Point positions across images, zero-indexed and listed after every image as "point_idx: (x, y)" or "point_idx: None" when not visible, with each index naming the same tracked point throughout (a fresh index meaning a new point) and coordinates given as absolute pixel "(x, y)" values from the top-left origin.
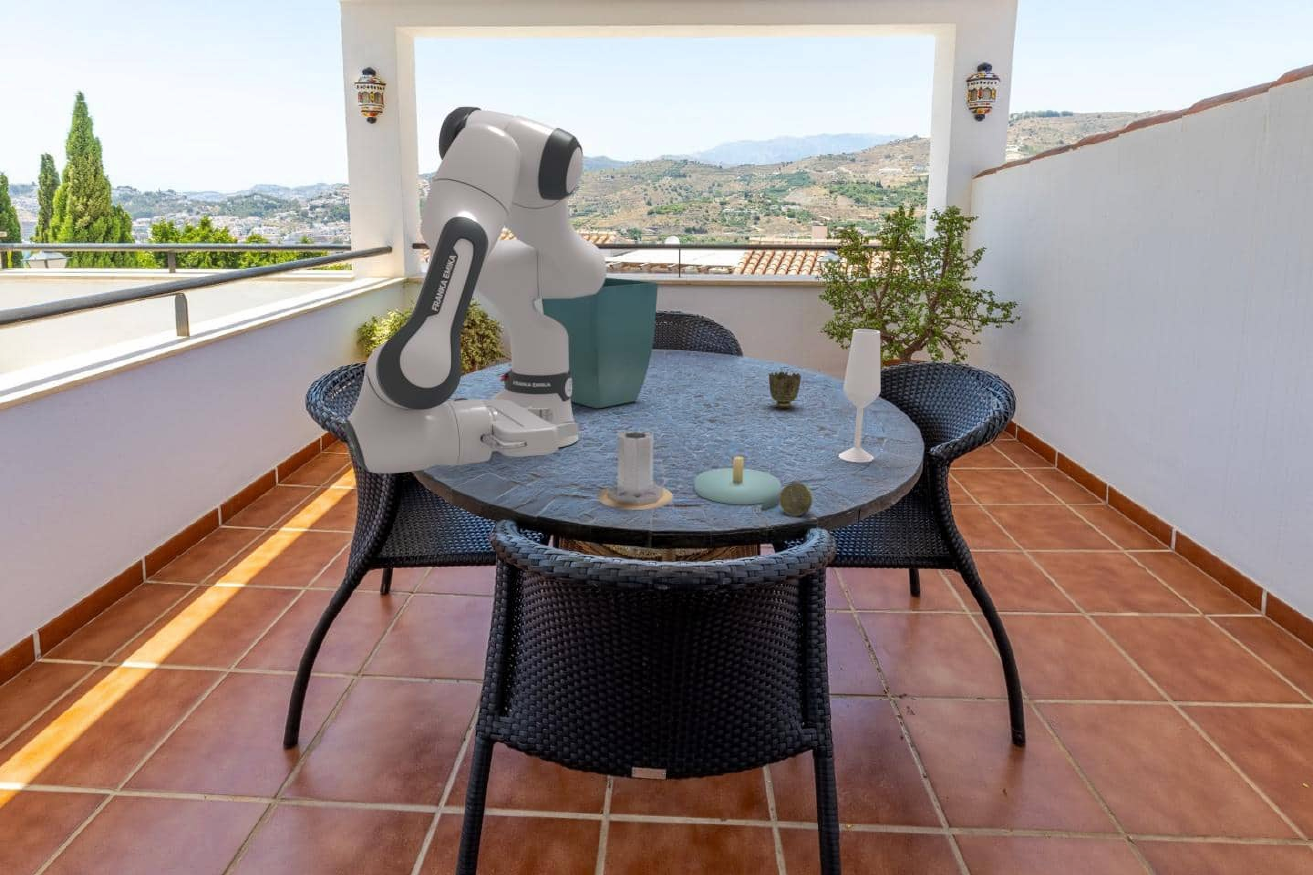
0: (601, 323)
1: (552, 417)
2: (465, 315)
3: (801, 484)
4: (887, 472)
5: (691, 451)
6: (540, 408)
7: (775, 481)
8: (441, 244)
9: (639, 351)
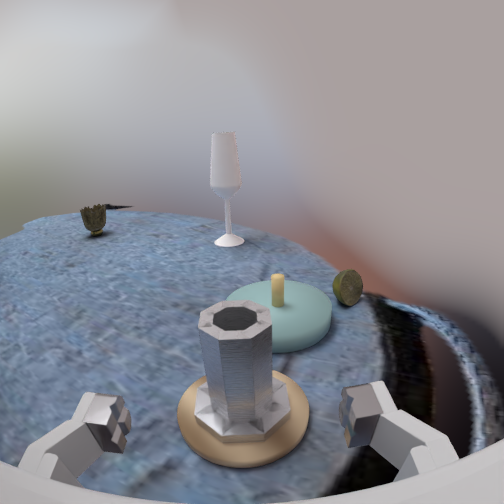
0: None
1: (127, 413)
2: None
3: (352, 270)
4: (272, 241)
5: (116, 301)
6: (74, 413)
7: (293, 283)
8: None
9: None
